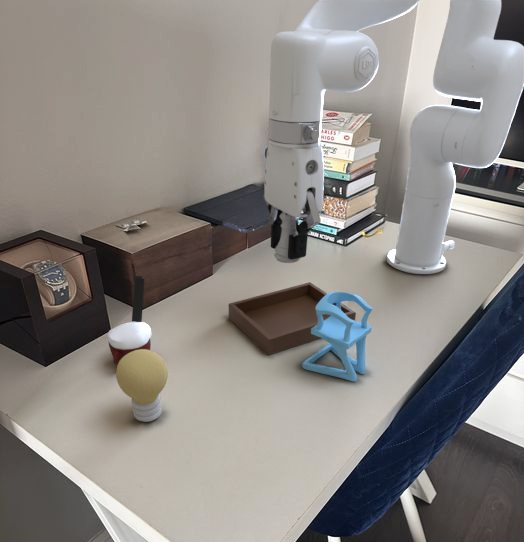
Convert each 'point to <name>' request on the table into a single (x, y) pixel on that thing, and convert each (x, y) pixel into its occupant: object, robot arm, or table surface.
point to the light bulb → (143, 382)
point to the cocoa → (131, 328)
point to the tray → (281, 317)
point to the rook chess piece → (284, 240)
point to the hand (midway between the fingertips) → (288, 250)
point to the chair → (340, 335)
